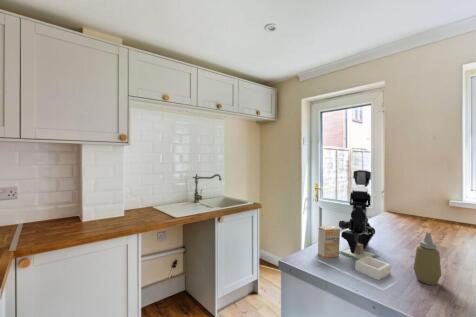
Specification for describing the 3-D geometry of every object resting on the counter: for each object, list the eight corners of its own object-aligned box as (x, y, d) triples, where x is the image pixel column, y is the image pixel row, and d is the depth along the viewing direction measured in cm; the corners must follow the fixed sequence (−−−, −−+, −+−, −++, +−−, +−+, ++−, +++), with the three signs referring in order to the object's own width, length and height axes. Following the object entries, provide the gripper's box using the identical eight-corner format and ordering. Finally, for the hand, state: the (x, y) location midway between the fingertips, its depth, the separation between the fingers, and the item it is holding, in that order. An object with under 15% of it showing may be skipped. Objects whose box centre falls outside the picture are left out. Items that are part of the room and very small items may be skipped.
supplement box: (323, 259, 105) (324, 229, 105) (317, 254, 110) (318, 226, 110) (339, 257, 107) (340, 228, 107) (332, 252, 112) (333, 225, 112)
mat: (352, 247, 119) (352, 246, 119) (379, 257, 108) (379, 256, 108) (336, 253, 111) (336, 252, 111) (364, 264, 101) (364, 263, 101)
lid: (353, 248, 117) (353, 238, 117) (374, 256, 108) (375, 245, 108) (341, 253, 111) (342, 242, 111) (363, 261, 103) (363, 250, 103)
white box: (367, 265, 100) (367, 255, 100) (390, 274, 92) (390, 264, 92) (355, 270, 95) (355, 261, 95) (379, 281, 87) (379, 270, 87)
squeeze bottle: (428, 275, 92) (429, 229, 92) (447, 287, 84) (449, 236, 84) (407, 275, 92) (409, 229, 92) (424, 287, 84) (426, 236, 84)
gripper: (353, 211, 121) (352, 241, 122) (331, 216, 111) (330, 249, 111) (376, 216, 112) (375, 249, 112) (354, 222, 102) (353, 258, 102)
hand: (358, 251), depth 110 cm, fingers open, 9 cm apart
